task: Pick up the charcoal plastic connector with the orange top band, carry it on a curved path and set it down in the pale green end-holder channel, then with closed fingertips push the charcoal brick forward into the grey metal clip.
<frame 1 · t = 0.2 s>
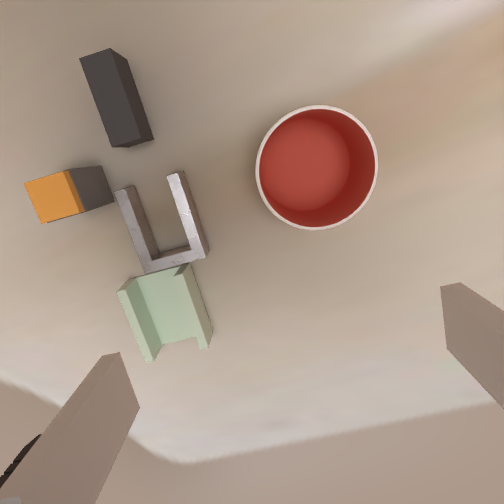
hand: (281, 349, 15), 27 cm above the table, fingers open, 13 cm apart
end holder: (171, 305, 44), on the table
charcoal brick: (127, 104, 39), on the table
cup: (302, 165, 40), on the table
connector: (91, 188, 41), on the table
clip: (165, 215, 41), on the table
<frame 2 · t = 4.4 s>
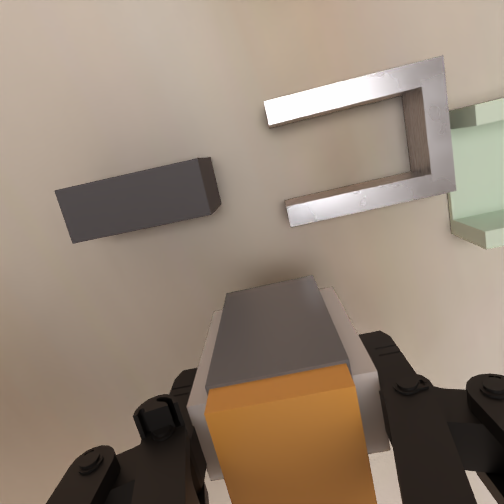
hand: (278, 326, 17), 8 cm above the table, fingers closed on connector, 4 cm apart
charcoal brick: (157, 193, 24), on the table
connector: (278, 323, 17), point 8 cm above the table, touching gripper
clip: (340, 150, 23), on the table
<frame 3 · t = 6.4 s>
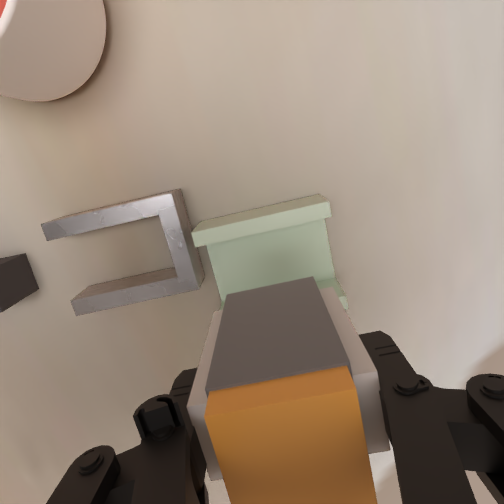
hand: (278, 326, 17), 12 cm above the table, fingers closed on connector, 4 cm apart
end holder: (270, 255, 28), on the table
cup: (39, 24, 25), on the table
connector: (278, 324, 17), point 12 cm above the table, touching gripper
clip: (127, 248, 28), on the table
when the fingers open (1 cm above the table, at t = 8.4 s): connector stays where it is, resting on end holder.
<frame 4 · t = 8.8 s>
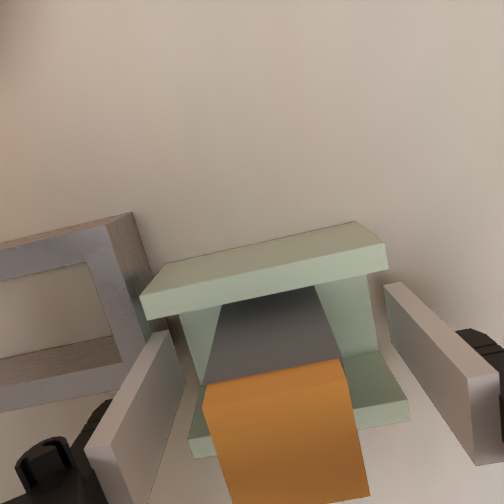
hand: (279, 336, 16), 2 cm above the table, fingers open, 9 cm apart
end holder: (276, 315, 18), on the table
connector: (276, 321, 18), resting on end holder
clip: (52, 304, 18), on the table
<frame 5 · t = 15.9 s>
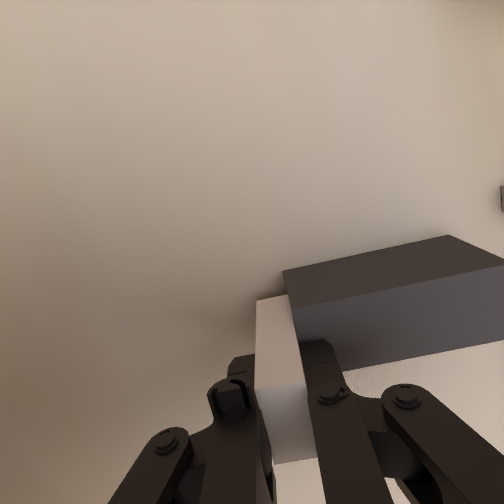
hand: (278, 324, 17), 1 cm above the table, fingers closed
charcoal brick: (369, 281, 18), on the table, touching gripper
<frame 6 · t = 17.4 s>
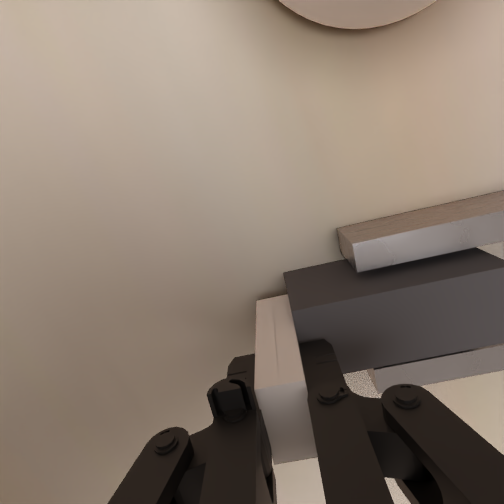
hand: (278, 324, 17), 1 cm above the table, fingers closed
charcoal brick: (370, 283, 18), on the table, touching gripper
clip: (431, 278, 18), on the table
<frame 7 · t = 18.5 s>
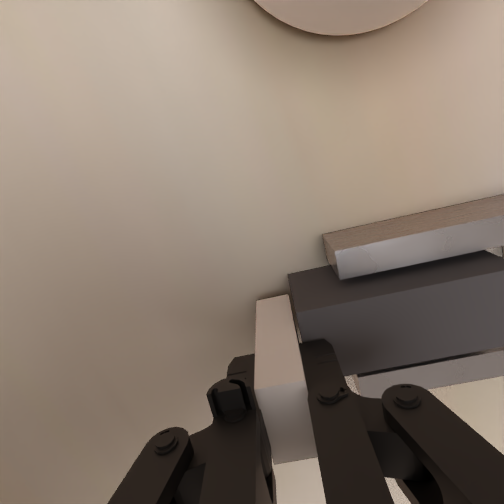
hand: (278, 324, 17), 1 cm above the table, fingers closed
charcoal brick: (374, 284, 18), on the table
clip: (417, 284, 18), on the table
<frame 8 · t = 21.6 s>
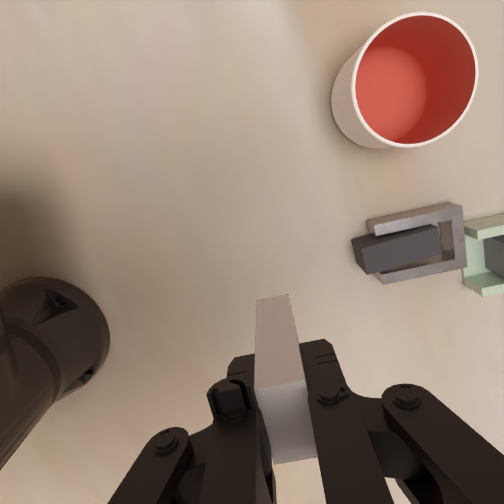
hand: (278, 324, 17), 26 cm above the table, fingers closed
end holder: (499, 245, 43), on the table
charcoal brick: (387, 241, 43), on the table
cup: (376, 99, 39), on the table
connector: (501, 247, 42), resting on end holder
clip: (405, 241, 43), on the table
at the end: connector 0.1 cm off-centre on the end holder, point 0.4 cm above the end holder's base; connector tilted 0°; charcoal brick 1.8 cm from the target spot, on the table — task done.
